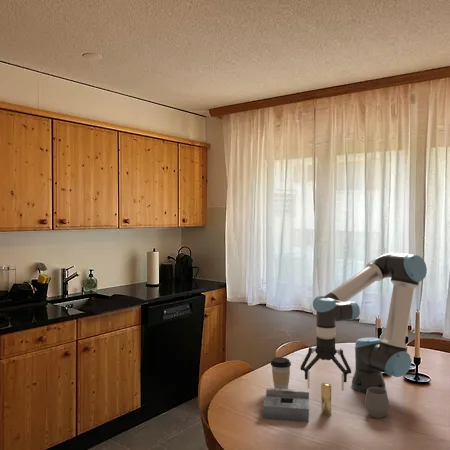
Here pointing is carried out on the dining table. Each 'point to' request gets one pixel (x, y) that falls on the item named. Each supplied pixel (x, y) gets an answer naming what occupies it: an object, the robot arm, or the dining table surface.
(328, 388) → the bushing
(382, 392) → the cup
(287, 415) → the block
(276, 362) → the coffee cup
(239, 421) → the dining table surface
